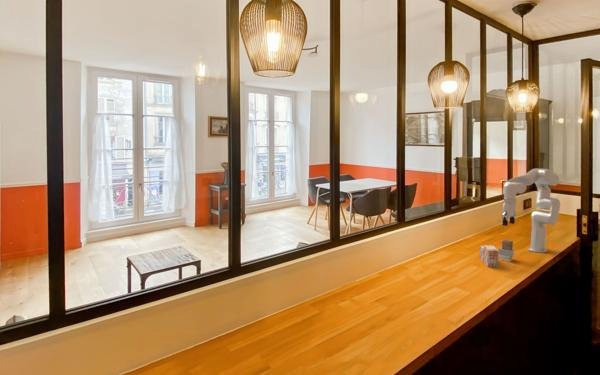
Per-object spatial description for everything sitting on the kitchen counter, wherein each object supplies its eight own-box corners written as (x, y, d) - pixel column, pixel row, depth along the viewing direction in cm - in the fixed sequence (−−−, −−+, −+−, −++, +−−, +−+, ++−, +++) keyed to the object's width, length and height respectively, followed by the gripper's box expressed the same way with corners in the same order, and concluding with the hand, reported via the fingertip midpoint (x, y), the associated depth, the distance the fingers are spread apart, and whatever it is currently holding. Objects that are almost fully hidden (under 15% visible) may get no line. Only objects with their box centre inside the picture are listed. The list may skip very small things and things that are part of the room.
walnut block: (505, 247, 278) (505, 239, 277) (512, 249, 274) (512, 241, 273) (501, 249, 275) (502, 240, 274) (509, 250, 271) (509, 242, 270)
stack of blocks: (479, 258, 281) (480, 241, 279) (488, 258, 280) (489, 242, 278) (488, 267, 260) (488, 250, 258) (497, 268, 259) (498, 250, 257)
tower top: (503, 252, 280) (504, 247, 280) (513, 254, 275) (513, 249, 274) (498, 254, 277) (498, 248, 276) (508, 256, 271) (508, 251, 270)
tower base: (503, 257, 281) (503, 252, 280) (513, 260, 275) (513, 254, 275) (498, 259, 277) (498, 254, 276) (508, 261, 271) (508, 256, 271)
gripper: (510, 199, 278) (509, 221, 281) (498, 201, 269) (496, 225, 271) (521, 200, 272) (519, 223, 274) (509, 202, 262) (507, 227, 265)
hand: (508, 224), depth 273 cm, fingers open, 9 cm apart
